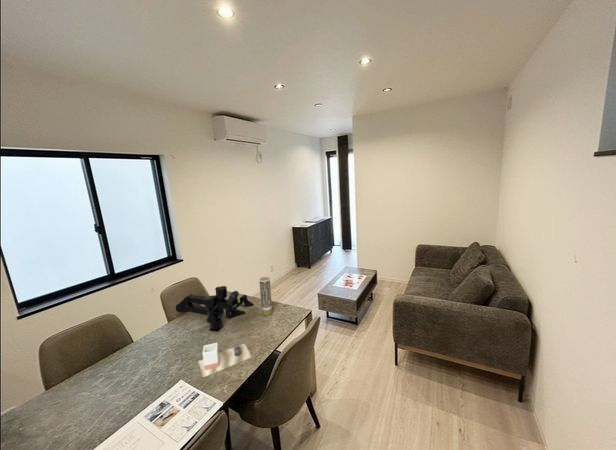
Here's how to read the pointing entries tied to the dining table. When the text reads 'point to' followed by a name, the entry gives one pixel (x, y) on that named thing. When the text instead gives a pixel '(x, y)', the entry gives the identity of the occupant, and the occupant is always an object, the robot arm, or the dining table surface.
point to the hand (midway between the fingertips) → (249, 308)
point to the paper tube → (265, 295)
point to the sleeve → (211, 356)
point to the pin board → (227, 359)
